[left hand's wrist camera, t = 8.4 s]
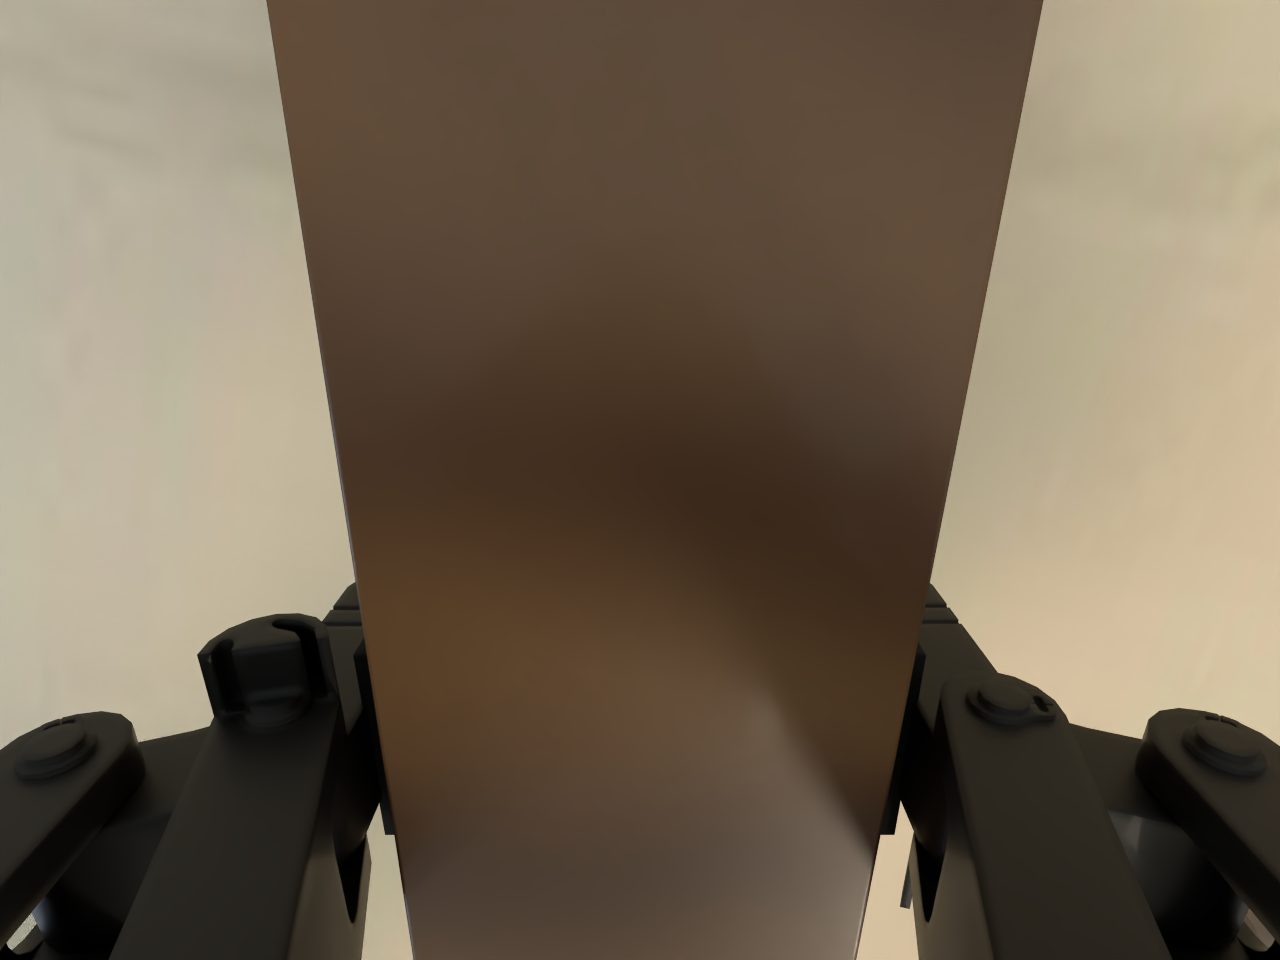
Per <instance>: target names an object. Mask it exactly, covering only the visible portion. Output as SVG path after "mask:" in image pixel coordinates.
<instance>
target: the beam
mask: <svg viewBox="0 0 1280 960" xmlns="http://www.w3.org/2000/svg"><path fill="white" fill-rule="evenodd" d="M1042 4H1043V0H267V7H268V13H269V20H270V26H271V33H272V39H273V46H274V52H275V59H276V65H277V72H278V79H279V85H280V92H281V98H282V105H283V111H284V118H285V124H286V131H287V137H288V144H289V150H290V157H291V163H292V170H293V176H294V183H295V189H296V196H297V202H298V209H299V215H300V222H301V229H302V235H303V242H304V248H305V255H306V261H307V268H308V274H309V281H310V287H311V294H312V300H313V307H314V313H315V320H316V326H317V333H318V339H319V346H320V352H321V359H322V366H323V372H324V379H325V385H326V392H327V398H328V405H329V411H330V418H331V424H332V431H333V437H334V444H335V450H336V457H337V463H338V470H339V476H340V483H341V489H342V496H343V502H344V509H345V516H346V522H347V529H348V535H349V542H350V548H351V555H352V561H353V568H354V574H355V581H356V587H357V594H358V600H359V607H360V613H361V620H362V626H363V633H364V639H365V646H366V652H367V659H368V666H369V672H370V679H371V685H372V692H373V698H374V705H375V711H376V718H377V724H378V731H379V737H380V744H381V750H382V757H383V763H384V770H385V776H386V783H387V789H388V796H389V803H390V809H391V816H392V822H393V829H394V835H395V842H396V848H397V855H398V861H399V868H400V874H401V881H402V887H403V894H404V900H405V907H406V913H407V920H408V926H409V933H410V939H411V946H412V953H413V959H414V960H856V958H857V952H858V947H859V942H860V937H861V932H862V927H863V922H864V917H865V911H866V906H867V901H868V896H869V891H870V886H871V881H872V876H873V870H874V865H875V860H876V855H877V850H878V845H879V840H880V835H881V829H882V824H883V819H884V814H885V809H886V804H887V799H888V794H889V788H890V783H891V778H892V773H893V768H894V763H895V758H896V753H897V747H898V742H899V737H900V732H901V727H902V722H903V717H904V712H905V706H906V701H907V696H908V691H909V686H910V681H911V676H912V671H913V665H914V660H915V655H916V650H917V645H918V640H919V635H920V630H921V624H922V619H923V614H924V609H925V604H926V599H927V594H928V589H929V583H930V578H931V573H932V568H933V563H934V558H935V553H936V548H937V542H938V537H939V532H940V527H941V522H942V517H943V512H944V507H945V502H946V496H947V491H948V486H949V481H950V476H951V471H952V466H953V461H954V455H955V450H956V445H957V440H958V435H959V430H960V425H961V420H962V414H963V409H964V404H965V399H966V394H967V389H968V384H969V379H970V373H971V368H972V363H973V358H974V353H975V348H976V343H977V338H978V332H979V327H980V322H981V317H982V312H983V307H984V302H985V297H986V291H987V286H988V281H989V276H990V271H991V266H992V261H993V256H994V250H995V245H996V240H997V235H998V230H999V225H1000V220H1001V215H1002V209H1003V204H1004V199H1005V194H1006V189H1007V184H1008V179H1009V174H1010V168H1011V163H1012V158H1013V153H1014V148H1015V143H1016V138H1017V133H1018V127H1019V122H1020V117H1021V112H1022V107H1023V102H1024V97H1025V92H1026V86H1027V81H1028V76H1029V71H1030V66H1031V61H1032V56H1033V51H1034V45H1035V40H1036V35H1037V30H1038V25H1039V20H1040V15H1041V10H1042Z"/></svg>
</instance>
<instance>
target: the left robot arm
mask: <svg viewBox="0 0 1280 960" xmlns="http://www.w3.org/2000/svg"><path fill="white" fill-rule="evenodd" d="M946 605H947V604H946V602H945V601H944V600H943V598H942V597H941V596H940V594H939V593H938V592H937V590H936V589H935V588H934V586H933V585H932V584H930V583H929V589H928V594H927V599H926V604H925V609H924V614H923V619H922V624H921V630H920V635H919V640H918V645H917V650H916V655H915V660H914V665H913V671H912V676H911V681H910V686H909V691H908V696H907V701H906V706H905V712H904V717H903V722H902V727H901V732H900V737H899V742H898V747H897V753H896V758H895V763H894V768H893V773H892V778H891V783H890V788H889V794H888V799H887V804H886V809H885V814H884V819H883V824H882V829H881V835H894V834H895V828H896V823H897V817H898V812H899V806H900V800H901V802H902V804H903V807H904V809H905V811H906V814H907V816H908V818H909V821H910V823H911V825H912V828H913V830H914V834H913V839H912V844H911V849H910V855H909V860H908V865H907V870H906V875H905V881H904V886H903V891H902V898H901V904H900V907H903V908H908V909H910V904H911V899H912V898H913V908H914V917H915V927H916V936H917V946H918V955H919V960H1280V746H1279V745H1277V744H1276V743H1274V742H1273V741H1272V740H1270V739H1269V738H1267V737H1266V736H1265V735H1263V734H1262V733H1259V732H1257V731H1255V730H1253V729H1251V728H1249V727H1247V726H1245V725H1243V724H1241V723H1239V722H1238V721H1236V720H1233V719H1230V718H1228V717H1225V716H1219V715H1218V714H1214V713H1210V712H1206V711H1199V710H1191V709H1183V708H1176V709H1169V710H1162V711H1159V712H1158V713H1156V714H1155V715H1154V716H1152V717H1151V718H1150V719H1149V720H1148V723H1147V726H1146V729H1145V732H1144V735H1143V738H1142V739H1138V738H1133V737H1128V736H1123V735H1118V734H1114V733H1109V732H1104V731H1099V730H1095V729H1090V728H1085V727H1082V726H1078V725H1074V724H1071V723H1069V721H1068V719H1067V717H1066V715H1065V714H1064V712H1063V711H1062V709H1061V708H1060V707H1059V705H1058V704H1057V703H1056V701H1055V700H1054V699H1052V698H1051V697H1049V696H1048V695H1047V694H1045V693H1044V692H1043V691H1041V690H1040V689H1039V688H1037V687H1036V686H1033V685H1031V684H1029V683H1027V682H1025V681H1022V680H1020V679H1018V678H1016V677H1013V676H1009V675H1005V674H1001V673H998V672H997V671H996V670H995V668H994V667H993V666H992V664H991V663H990V662H989V660H988V659H987V658H986V656H985V655H984V654H983V652H982V651H981V650H980V648H979V647H978V645H977V644H976V643H975V641H974V640H973V639H972V637H971V636H970V635H969V633H968V632H967V631H966V629H965V628H964V627H963V625H962V624H959V623H958V619H957V617H956V616H955V615H954V613H953V612H952V611H951V609H950V608H947V606H946ZM197 656H198V659H199V663H200V667H201V670H202V674H203V678H204V681H205V685H206V689H207V692H208V696H209V699H210V703H211V707H212V710H213V714H214V718H213V720H212V723H211V725H210V726H209V727H206V728H202V729H198V730H195V731H190V732H186V733H181V734H176V735H171V736H167V737H162V738H157V739H152V740H148V741H143V742H138V740H137V737H136V734H135V731H134V728H133V725H132V722H130V721H129V720H128V719H126V718H125V717H124V716H123V715H121V714H117V713H110V712H103V711H100V712H91V713H83V714H76V715H72V716H68V717H63V718H62V719H57V720H54V721H51V722H48V723H46V724H44V725H42V726H40V727H38V728H36V729H34V730H32V731H30V732H28V733H26V734H24V735H22V736H20V737H18V738H17V739H15V740H14V741H12V742H11V743H10V744H8V745H7V746H5V747H4V748H3V749H1V750H0V960H361V957H362V948H363V938H364V929H365V919H366V910H367V900H368V891H369V881H370V872H371V856H370V850H369V844H368V839H367V834H366V833H367V830H368V828H369V825H370V823H371V821H372V818H373V816H374V814H375V811H376V809H377V807H378V804H379V803H380V809H381V814H382V820H383V825H384V831H385V835H394V829H393V822H392V816H391V809H390V803H389V796H388V789H387V783H386V776H385V770H384V763H383V757H382V750H381V744H380V737H379V731H378V724H377V718H376V711H375V705H374V698H373V692H372V685H371V679H370V672H369V666H368V659H367V652H366V646H365V639H364V633H363V626H362V620H361V613H360V607H359V600H358V594H357V587H356V582H355V583H353V584H352V585H350V586H349V587H347V589H346V590H345V591H344V593H343V594H342V595H341V597H340V598H339V599H338V601H337V602H336V603H335V605H334V606H333V610H330V612H329V613H328V614H327V616H326V617H325V618H324V620H323V621H322V622H321V621H320V620H319V619H318V618H316V617H312V616H308V615H303V614H299V613H296V614H274V615H270V616H265V617H260V618H256V619H252V620H249V621H246V622H244V623H241V624H239V625H236V626H234V627H231V628H229V629H227V630H226V631H224V632H222V633H221V634H219V635H218V636H216V637H215V638H213V639H212V640H210V641H209V642H208V643H207V644H206V645H205V646H204V648H203V649H202V650H201V651H200V652H199V653H198V655H197ZM1249 909H1250V910H1251V911H1252V912H1253V914H1254V915H1255V916H1256V917H1257V918H1258V920H1259V921H1260V922H1261V923H1262V924H1263V925H1264V927H1265V928H1266V929H1267V930H1268V931H1269V933H1270V934H1271V935H1272V936H1273V937H1274V939H1275V940H1274V942H1273V944H1272V945H1271V946H1270V947H1267V946H1266V945H1265V944H1264V943H1263V942H1262V941H1261V940H1260V939H1259V938H1258V937H1257V936H1256V935H1255V934H1254V933H1253V932H1252V930H1251V929H1250V928H1249V927H1248V926H1247V924H1246V923H1245V922H1244V919H1245V917H1246V915H1247V913H1248V910H1249ZM31 912H32V914H33V917H34V919H35V921H36V923H37V924H36V925H35V927H34V928H33V929H32V930H31V932H30V933H29V934H28V935H27V937H26V938H25V939H24V940H23V941H22V942H21V943H19V944H18V945H17V946H16V947H15V948H14V949H13V950H11V949H9V948H8V945H7V943H6V942H7V941H8V940H9V939H10V937H11V936H12V935H13V934H14V933H15V931H16V930H17V929H18V928H19V927H20V925H21V924H22V923H23V922H24V921H25V919H26V918H27V917H28V916H29V915H30V913H31Z"/></svg>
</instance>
